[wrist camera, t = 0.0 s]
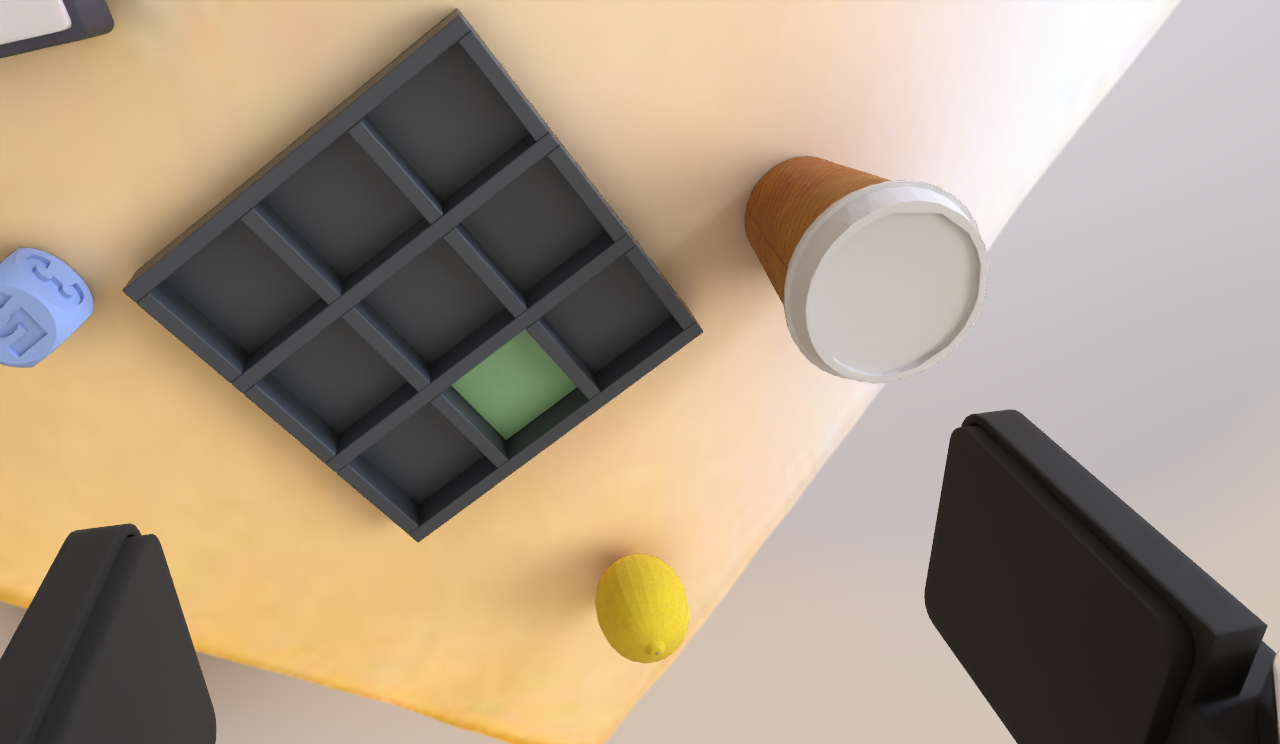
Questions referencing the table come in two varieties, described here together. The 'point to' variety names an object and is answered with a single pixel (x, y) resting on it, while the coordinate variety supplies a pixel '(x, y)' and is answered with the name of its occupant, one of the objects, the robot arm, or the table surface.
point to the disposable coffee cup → (867, 267)
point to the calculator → (50, 23)
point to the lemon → (642, 608)
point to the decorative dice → (38, 306)
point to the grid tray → (421, 285)
